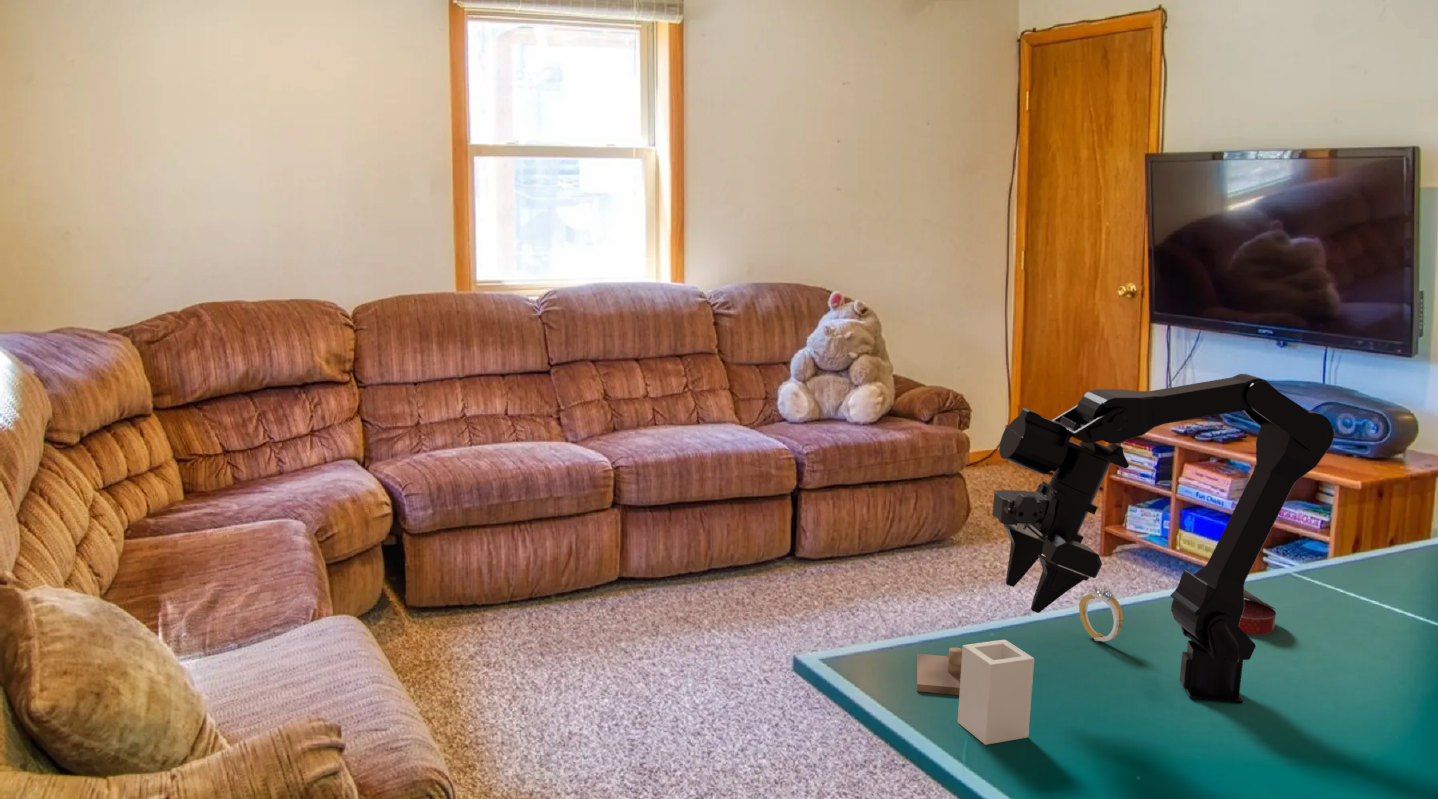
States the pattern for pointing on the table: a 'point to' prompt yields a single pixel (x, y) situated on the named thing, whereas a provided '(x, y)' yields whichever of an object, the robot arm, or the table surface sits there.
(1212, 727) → the table surface
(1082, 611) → the ring
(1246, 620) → the canned food
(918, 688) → the post stand
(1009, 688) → the sleeve
